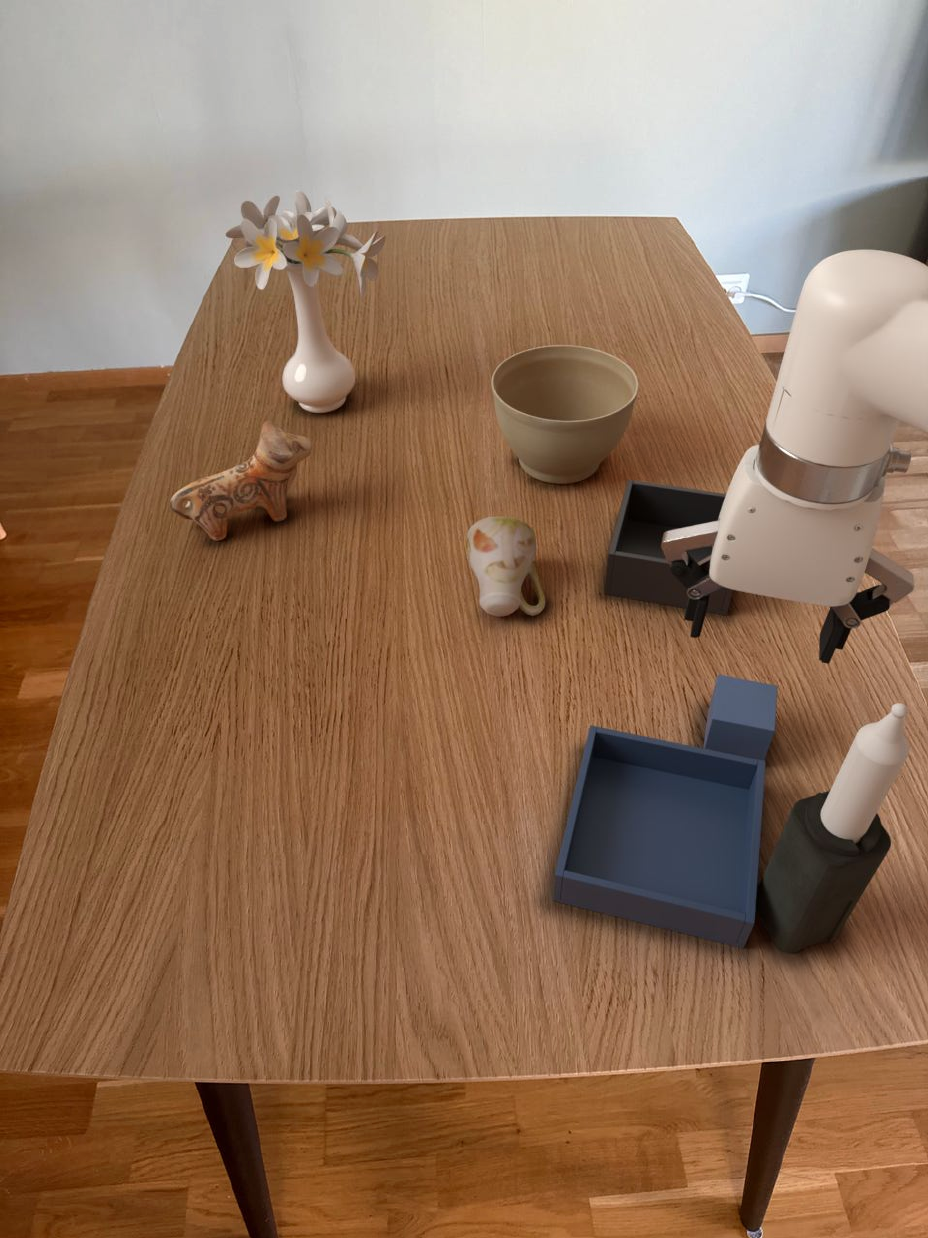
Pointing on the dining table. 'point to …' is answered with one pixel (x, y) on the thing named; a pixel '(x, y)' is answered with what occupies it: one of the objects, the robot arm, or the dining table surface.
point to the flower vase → (306, 288)
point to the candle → (833, 842)
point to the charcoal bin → (658, 543)
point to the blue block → (741, 717)
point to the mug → (503, 564)
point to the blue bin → (664, 836)
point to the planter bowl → (563, 409)
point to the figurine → (245, 483)
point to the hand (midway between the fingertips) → (759, 637)
